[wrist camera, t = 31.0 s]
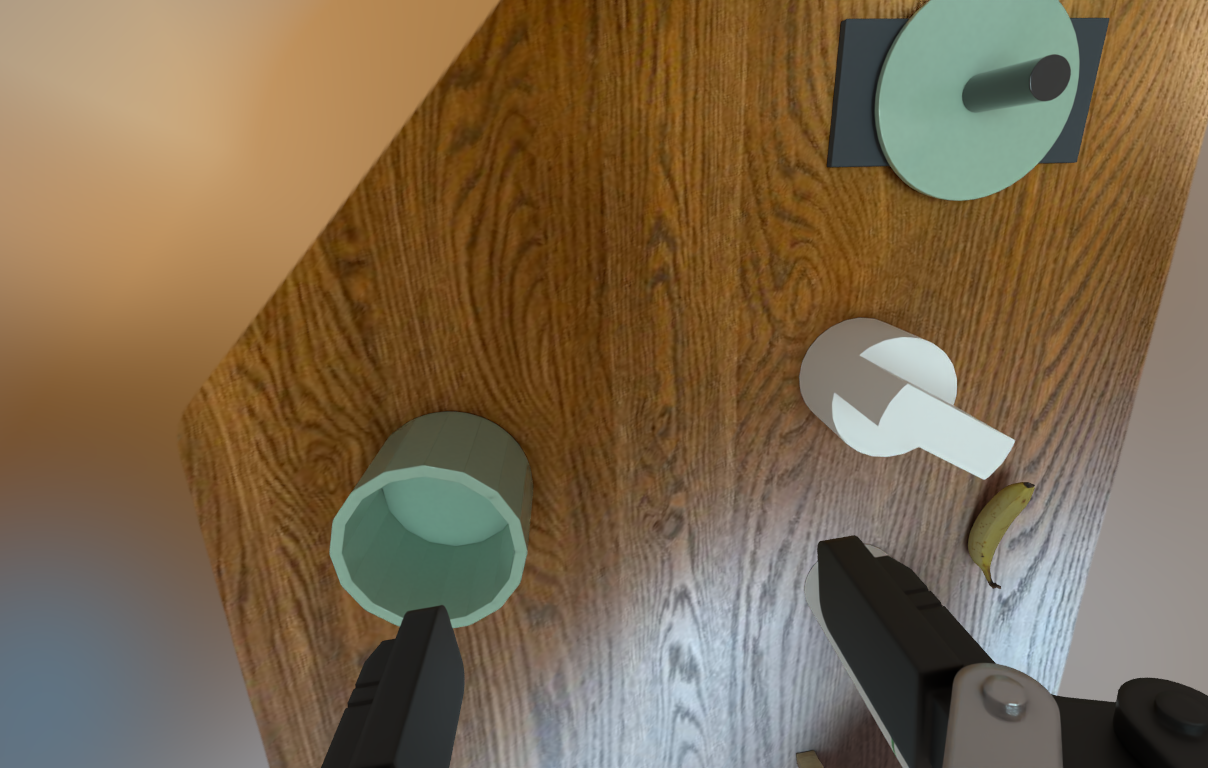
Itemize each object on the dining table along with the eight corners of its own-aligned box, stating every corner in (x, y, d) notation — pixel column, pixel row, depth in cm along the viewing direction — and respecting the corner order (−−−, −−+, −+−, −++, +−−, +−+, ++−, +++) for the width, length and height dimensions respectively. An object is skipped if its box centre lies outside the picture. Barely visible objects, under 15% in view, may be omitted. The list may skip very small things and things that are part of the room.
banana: (985, 463, 50) (1020, 485, 47) (1011, 464, 51) (1047, 487, 47) (953, 562, 54) (983, 591, 50) (978, 563, 54) (1009, 591, 50)
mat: (826, 167, 42) (831, 166, 41) (840, 21, 39) (846, 18, 38) (1067, 162, 43) (1076, 162, 42) (1099, 20, 40) (1109, 17, 39)
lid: (829, 118, 40) (884, 106, 33) (975, -73, 37) (1068, -130, 30) (961, 238, 43) (1036, 249, 36) (1105, 72, 40) (1216, 50, 33)
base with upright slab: (777, 397, 47) (846, 465, 36) (840, 297, 45) (935, 337, 33) (866, 441, 49) (958, 519, 38) (931, 348, 47) (1050, 401, 35)
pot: (345, 502, 48) (295, 576, 39) (426, 381, 45) (392, 430, 36) (479, 573, 51) (461, 657, 42) (562, 464, 48) (562, 529, 39)
